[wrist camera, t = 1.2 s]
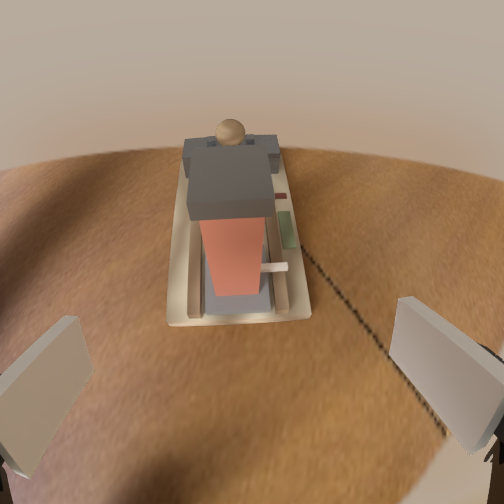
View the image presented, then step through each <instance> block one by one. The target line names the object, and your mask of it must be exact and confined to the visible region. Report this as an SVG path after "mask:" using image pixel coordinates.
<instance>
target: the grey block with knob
mask: <svg viewBox="0 0 504 504" xmlns="http://www.w3.org/2000/svg"><path fill="white" fill-rule="evenodd" d="M239 145H266V147H267V153H268V159H269V164H270V170H271V174H278V173H279V163H280V154H281V153H280V149H279V144H278V140H277V135H253V134H250V135H245V137H244V140H243V141H242V143H241V144H239ZM217 146H222V145H221V144H220V143H219V142H218V141H217V139H216V137H215V136H210V137H205V138H193V139H185V142H184V148H183V155H182V161H183V166H184V171H185V176H186V178H189V171H190V162H191V153H192V148H202V147H217ZM232 146H235V145H232Z"/></svg>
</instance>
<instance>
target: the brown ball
mask: <svg viewBox="0 0 504 504" xmlns="http://www.w3.org/2000/svg"><path fill="white" fill-rule="evenodd" d="M215 134H216V139H217V141H218V142H219V143H220V144H221V145H222V146H232V145H235V146H236V145H239V144H241V143H242V141H243V140H244V137H245V129H244V127H243V125H242V124H241V123H240V122H239V121H237V120H234V119H227V120H225V121H222V122H221V123H220V124H219V125H218V127H217V128H216V133H215Z"/></svg>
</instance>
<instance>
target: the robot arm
mask: <svg viewBox="0 0 504 504" xmlns="http://www.w3.org/2000/svg"><path fill="white" fill-rule="evenodd" d="M389 355H390V357H391V358H392V359H393V360H394V361H395V363H396V364H397V365H398V366H399V367H400V369H401V370H402V371H403V372H404V374H405V375H406V376H407V377H408V378H409V380H410V381H411V382H412V383H413V385H414V386H415V387H416V388H417V389H418V391H419V392H420V393H421V394H422V396H423V397H424V398H425V399H426V401H427V402H428V403H429V404H430V406H431V407H432V408H433V409H434V411H435V412H436V413H437V414H438V416H439V417H440V418H441V420H442V421H443V422H444V423H445V425H446V426H447V427H448V429H449V430H450V431H451V432H452V434H453V435H454V436H455V438H456V439H457V440H458V442H459V443H460V444H461V446H462V447H463V448H464V450H465V451H466V452H467V454H468V455H469V456H470V455H472V454H474V453H475V452H477V451H479V450H480V449H482V448H484V447H485V446H486V445H487V443H488V442H489V440H490V438H491V437H492V435H493V434H495V435H496V436H497V438H498V439H497V440H496V442H495V443H494V445H493V446H492V448H491V449H490V451H489V452H488V454H487V455H486V457H485V459H484V462H487V460H488V459H489V458H490V456H491V455H492V454H493V458H492V460H491V461H490V462H493V463H492V473H491V481H490V488H489V494H488V500H487V504H504V361H502V358H500V357H499V356H498V355H495V353H494V352H493V351H491V350H490V349H489V348H487V347H486V346H483V345H481V344H479V343H476V342H475V341H474V340H472V339H471V338H470V337H468V336H467V335H466V334H464V333H463V332H462V331H460V330H459V329H458V328H456V327H455V326H454V325H452V324H451V323H449V322H448V321H447V320H445V319H444V318H443V317H441V316H440V315H439V314H437V313H436V312H434V311H433V310H432V309H430V308H429V307H427V306H426V305H425V304H423V303H422V302H420V301H419V300H417V299H416V298H415V297H413V296H410V297H403V298H398V303H397V310H396V317H395V323H394V329H393V335H392V341H391V346H390V351H389ZM94 372H95V370H94V367H93V364H92V361H91V358H90V355H89V352H88V348H87V345H86V342H85V338H84V335H83V332H82V328H81V324H80V321H79V317H78V316H65V315H64V316H63V317H62V318H61V319H60V320H59V321H57V322H56V323H55V324H54V325H53V326H52V327H51V328H50V329H49V330H47V331H46V332H45V333H44V334H43V335H42V336H41V337H40V338H39V339H38V340H37V341H36V342H34V343H33V344H32V345H31V346H30V347H29V348H28V349H27V350H26V351H25V352H24V353H23V354H22V355H21V356H20V357H19V358H18V359H17V360H16V361H15V362H14V363H13V364H12V365H11V366H10V367H9V368H8V369H7V370H6V371H5V372H4V373H2V374H0V504H13V501H12V497H11V493H10V488H9V484H8V479H7V474H6V472H5V469H4V468H3V467H2V464H3V463H4V461H5V462H6V463H7V464H8V465H9V467H10V468H11V469H12V470H13V472H14V473H17V474H19V475H21V476H23V477H25V478H27V479H31V478H32V476H33V474H34V472H35V470H36V468H37V466H38V465H39V463H40V461H41V459H42V457H43V455H44V454H45V452H46V450H47V448H48V447H49V445H50V443H51V441H52V440H53V438H54V436H55V434H56V433H57V431H58V429H59V428H60V426H61V424H62V423H63V421H64V419H65V418H66V416H67V414H68V413H69V411H70V410H71V408H72V406H73V405H74V403H75V401H76V400H77V398H78V397H79V395H80V394H81V392H82V390H83V389H84V387H85V386H86V384H87V383H88V381H89V379H90V378H91V376H92V375H93V373H94Z"/></svg>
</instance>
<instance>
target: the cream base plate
mask: <svg viewBox="0 0 504 504" xmlns="http://www.w3.org/2000/svg"><path fill="white" fill-rule="evenodd" d="M271 176H272V183H273V189H274V195H275V204H274V213H273V217H265V224H264V237H263V244H264V248H265V257H266V263H281V262H287V263H288V271H277V272H267V276H268V286H269V295H270V305H271V310H270V312H263V313H247V314H227V315H206V312H205V256H206V252H205V247H204V243H203V238H202V234H201V229H200V224H199V221H190V217H189V213H188V209H187V204H186V200H187V190H188V180H189V178H186V176H185V171H184V166H183V161H182V159H181V166H180V173H179V180H178V187H177V195H176V203H175V211H174V220H173V230H172V240H171V251H170V263H169V276H168V292H167V311H166V322H167V323H168V325H169V326H205V325H230V324H249V323H265V322H279V321H291V320H303V319H309V318H310V316H311V314H312V313H311V307H310V300H309V294H308V288H307V282H306V276H305V270H304V264H303V259H302V253H301V247H300V242H299V237H298V231H297V226H296V221H295V216H294V211H293V206H292V201H291V196H290V191H289V186H288V181H287V176H286V172H285V167H284V163H283V158H282V155H280V163H279V173H278V174H271Z"/></svg>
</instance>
